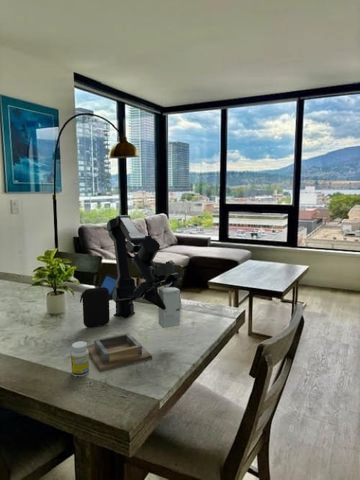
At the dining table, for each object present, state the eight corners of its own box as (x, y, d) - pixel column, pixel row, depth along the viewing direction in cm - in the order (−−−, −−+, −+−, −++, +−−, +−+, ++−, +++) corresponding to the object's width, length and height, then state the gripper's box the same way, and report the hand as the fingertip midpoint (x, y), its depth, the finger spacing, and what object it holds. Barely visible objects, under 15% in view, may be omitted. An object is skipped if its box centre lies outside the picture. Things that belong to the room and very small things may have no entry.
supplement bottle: (73, 368, 102) (72, 340, 101) (90, 368, 102) (89, 340, 101) (70, 377, 97) (68, 348, 96) (87, 376, 98) (86, 347, 96)
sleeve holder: (85, 349, 114) (85, 338, 114) (132, 339, 122) (132, 329, 121) (100, 371, 100) (99, 359, 100) (152, 358, 108) (151, 347, 107)
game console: (80, 295, 172) (80, 277, 171) (106, 290, 180) (106, 273, 179) (94, 303, 160) (94, 284, 158) (121, 298, 168) (121, 279, 167)
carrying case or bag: (81, 330, 129) (80, 291, 127) (80, 327, 132) (78, 288, 130) (110, 325, 134) (109, 287, 131) (108, 322, 136) (107, 285, 134)
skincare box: (163, 328, 114) (163, 292, 112) (157, 324, 118) (157, 288, 116) (180, 325, 117) (180, 289, 115) (174, 320, 121) (174, 286, 119)
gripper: (139, 257, 109) (167, 300, 104) (178, 249, 123) (203, 286, 118) (122, 278, 115) (147, 319, 110) (160, 268, 129) (184, 304, 124)
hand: (172, 306), depth 115 cm, fingers closed on skincare box, 7 cm apart
